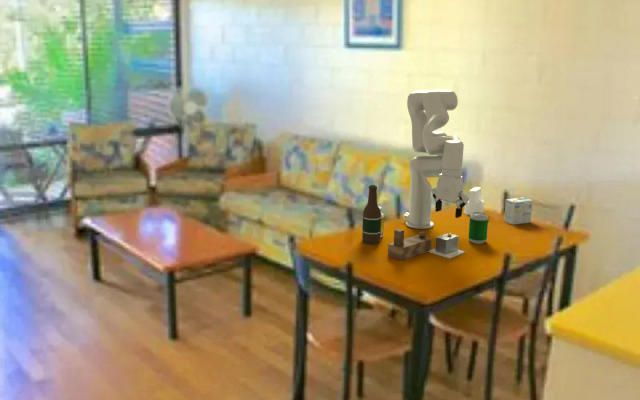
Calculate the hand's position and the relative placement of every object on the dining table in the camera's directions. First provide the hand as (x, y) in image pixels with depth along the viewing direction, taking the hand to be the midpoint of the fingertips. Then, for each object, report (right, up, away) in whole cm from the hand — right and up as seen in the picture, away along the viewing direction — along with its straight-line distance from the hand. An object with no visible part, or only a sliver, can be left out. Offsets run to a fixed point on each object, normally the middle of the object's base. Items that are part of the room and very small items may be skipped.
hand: (448, 214), depth 265 cm
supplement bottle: (-27, -10, +23) cm, 36 cm away
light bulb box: (+41, -5, +46) cm, 62 cm away
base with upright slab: (+24, -1, +60) cm, 64 cm away
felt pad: (0, -15, +3) cm, 16 cm away
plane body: (-15, -16, +1) cm, 22 cm away
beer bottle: (-29, -12, +15) cm, 35 cm away
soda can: (+15, -12, +17) cm, 26 cm away
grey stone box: (0, -15, +3) cm, 15 cm away
